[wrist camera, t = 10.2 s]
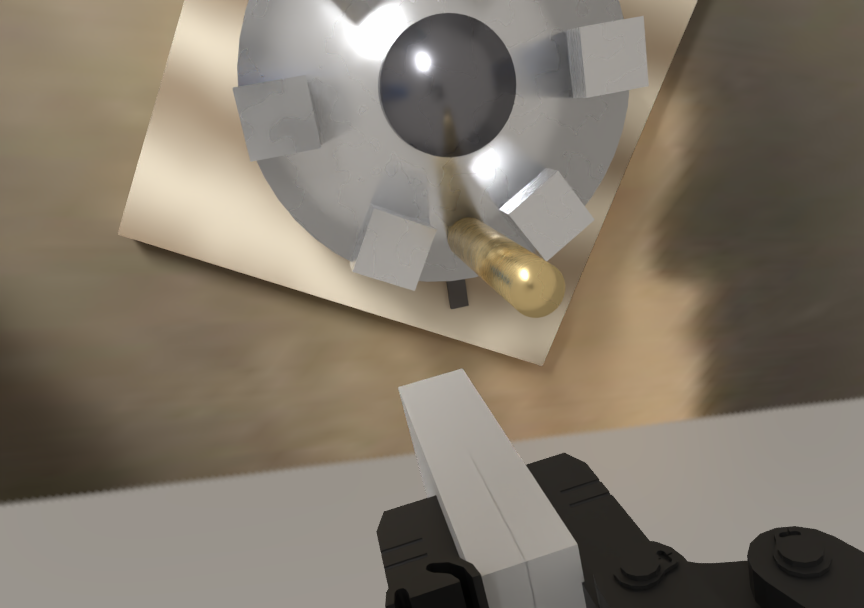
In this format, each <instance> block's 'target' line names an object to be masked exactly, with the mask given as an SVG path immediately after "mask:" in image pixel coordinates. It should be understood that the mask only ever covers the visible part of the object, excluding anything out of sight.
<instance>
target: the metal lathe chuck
mask: <svg viewBox="0 0 864 608" xmlns="http://www.w3.org/2000/svg"><path fill="white" fill-rule="evenodd" d="M237 74H238V87H233V88H232V89H233V93H234V97H235V101H236V105H237V109H238V113H239V118H240V122H241V126H242V130H243V134H244V138H245V142H246V146H247V150H248V154H249V158H250V162H252V161H257V163H258V165H259V167H260V169H261V172H262V174H263V176H264V178H265V179H266V181H267V182H268V184H269V186H270V187H271V189H272V190H273V192H274V194H275V195H276V197H277V198H278V200H279V201H280V202H281V204H282V205H283V206H284V207H285V208H286V210H287V211H288V212H289V213H290V215H291V216H292V217H293V218H294V219H295V220H296V221H297V222H298V223H299V224H300V225H301V226H302V227H303V228H304V229H305V230H306V231H307V232H308V233H309V234H310V235H311V236H312V237H314V238H315V239H316V240H318V241H319V242H320V243H322V244H323V245H325V246H326V247H327V248H329V249H330V250H331V251H333V252H334V253H336V254H338V255H340V256H341V257H343V258H345V259H347V260H349V261H350V267H351V269H352V272H354V273H358V274H361V275H364V276H367V277H371V278H374V279H377V280H380V281H384V282H387V283H390V284H393V285H397V286H400V287H403V288H406V289H410V290H413V291H415V289H416V286H417V283H418V281H425V282H437V281H455V280H461V279H468V278H474V277H478V276H480V277H481V278H482V279H483V280H484V281H485V282H486V283H487V284H488V285H490V286H491V287H492V288H493V289H494V290H495V291H496V292H497V293H498V294H500V295H501V296H502V297H503V298H504V299H505V300H506V301H507V302H508V303H510V304H511V305H512V306H513V307H514V308H515V309H516V310H517V311H518V312H520V313H521V314H523V315H524V316H527V317H531V318H540V317H544V316H547V315H549V314H551V313H552V312H553V311H555V310H556V309H557V308H558V306H559V305H560V304H561V302H562V300H563V298H564V295H565V280H564V277H563V275H562V273H561V272H560V271H559V270H558V269H557V268H556V267H555V266H553V265H552V264H550V263H548V262H547V261H548V260H549V259H550V258H551V257H553V256H554V255H555V254H556V253H557V252H558V251H559V250H561V249H562V248H563V247H564V246H565V245H566V244H567V243H569V242H570V241H571V240H572V239H573V238H574V237H575V236H577V235H578V234H579V233H580V232H581V231H582V230H584V229H585V228H586V227H587V226H588V225H589V224H590V223H592V222H593V221H594V220H595V219H594V218H593V217H592V215H591V214H590V213H589V211H588V210H587V209H586V207H585V205H586V204H587V203H588V201H589V200H590V199H591V197H592V196H593V194H594V193H595V191H596V189H597V188H598V186H599V185H600V183H601V181H602V180H603V178H604V176H605V174H606V172H607V170H608V168H609V166H610V163H611V161H612V159H613V157H614V155H615V152H616V149H617V146H618V143H619V140H620V137H621V134H622V131H623V127H624V122H625V117H626V112H627V108H628V99H629V90H631V89H636V88H642V87H647V86H649V83H648V69H647V55H646V42H645V28H644V16H640V17H634V18H628V19H624V18H623V14H622V10H621V6H620V2H619V0H249V1H248V4H247V7H246V10H245V15H244V19H243V24H242V29H241V33H240V38H239V51H238V63H237Z"/></svg>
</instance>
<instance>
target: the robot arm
mask: <svg viewBox="0 0 864 608" xmlns="http://www.w3.org/2000/svg"><path fill="white" fill-rule="evenodd" d="M398 389H399V393H400V397H401V400H402V404H403V408H404V412H405V416H406V419H407V423H408V427H409V431H410V435H411V438H412V442H413V446H414V450H415V453H416V457H417V461H418V465H419V469H420V472H421V476H422V480H423V484H424V487H425V491H426V494H427V496H428V498H426V499H423V500H420V501H416V502H413V503H410V504H407V505H404V506H400V507H397V508H394V509H391V510H388V511H384V513H383V516H382V518H381V521H380V524H379V526H378V529H377V536H378V541H379V545H380V550H381V554H382V560H383V564H384V568H385V574H386V578H387V583H388V588H389V589H388V590H387V592H386V604H385V607H386V608H864V552H862V551H860V550H858V549H856V548H854V547H853V546H851V545H849V544H847V543H845V542H844V541H842V540H840V539H838V538H836V537H834V536H832V535H829V534H826V533H823V532H821V531H818V530H816V529H810V528H803V527H796V526H793V527H781V528H774V529H772V530H770V531H767V532H764V533H762V534H760V535H759V536H758V537H756V538H755V539H754V540H753V541H752V542H751V543H750V547H749V550H748V555H747V558H748V561H738V562H725V563H693V562H688V561H687V560H686V559H685V558H684V557H683V556H682V555H680V554H679V553H678V552H676V551H675V550H674V549H673V548H671V547H669V546H666V545H663V544H660V543H658V542H654V541H649V540H648V538H647V537H646V536H645V535H644V534H643V532H642V531H641V530H640V528H639V527H638V526H637V525H636V524H635V522H633V520H632V519H631V518H630V516H629V515H628V514H627V513H626V511H625V510H624V509H623V508H622V507H621V506H620V504H619V503H618V502H617V500H616V499H615V498H614V497H613V496H612V495H610V493H609V491H608V489H607V488H606V487H605V486H604V485H603V483H602V482H600V481H599V479H598V477H597V476H596V475H595V474H594V472H593V471H592V470H591V469H590V468H589V466H588V465H587V464H586V463H585V462H583V461H581V460H578V459H576V458H574V457H572V456H570V455H568V454H566V453H562V454H559V455H556V456H553V457H549V458H546V459H543V460H540V461H537V462H533V463H530V464H527V465H525V463H524V462H523V460H522V459H521V457H520V455H519V454H518V452H517V451H516V449H515V448H514V446H513V445H512V443H511V442H510V440H509V439H508V437H507V436H506V434H505V433H504V431H503V430H502V428H501V426H500V425H499V423H498V422H497V420H496V419H495V417H494V416H493V414H492V413H491V411H490V410H489V408H488V407H487V405H486V404H485V402H484V401H483V399H482V397H481V396H480V394H479V393H478V391H477V390H476V388H475V387H474V385H473V384H472V382H471V381H470V379H469V378H468V376H467V375H466V373H465V371H464V370H463V368H462V369H459V370H455V371H452V372H448V373H445V374H442V375H438V376H435V377H431V378H428V379H425V380H421V381H418V382H414V383H411V384H408V385H404V386H401V387H398Z"/></svg>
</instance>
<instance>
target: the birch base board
mask: <svg viewBox="0 0 864 608" xmlns="http://www.w3.org/2000/svg"><path fill="white" fill-rule="evenodd" d="M248 1H249V0H185V1H184V4H183V8H182V11H181V15H180V18H179V22H178V25H177V29H176V32H175V35H174V39H173V42H172V46H171V49H170V53H169V56H168V60H167V63H166V67H165V70H164V74H163V77H162V81H161V84H160V88H159V91H158V95H157V98H156V102H155V105H154V109H153V112H152V116H151V119H150V123H149V126H148V130H147V133H146V137H145V140H144V144H143V147H142V151H141V154H140V158H139V161H138V165H137V168H136V172H135V175H134V179H133V182H132V186H131V189H130V193H129V196H128V200H127V203H126V207H125V210H124V214H123V217H122V221H121V224H120V228H119V231H118V235H121V236H125V237H128V238H131V239H134V240H137V241H141V242H144V243H147V244H150V245H154V246H157V247H160V248H163V249H166V250H170V251H173V252H176V253H179V254H183V255H186V256H189V257H192V258H195V259H199V260H202V261H205V262H208V263H212V264H215V265H218V266H221V267H224V268H228V269H231V270H234V271H237V272H241V273H244V274H247V275H250V276H253V277H257V278H260V279H263V280H266V281H270V282H273V283H276V284H279V285H282V286H286V287H289V288H292V289H295V290H299V291H302V292H305V293H308V294H311V295H315V296H318V297H321V298H324V299H328V300H331V301H334V302H337V303H340V304H344V305H347V306H350V307H353V308H357V309H360V310H363V311H366V312H369V313H373V314H376V315H379V316H382V317H386V318H389V319H392V320H395V321H398V322H402V323H405V324H408V325H411V326H415V327H418V328H421V329H424V330H427V331H431V332H434V333H437V334H440V335H443V336H447V337H450V338H453V339H456V340H460V341H463V342H466V343H469V344H472V345H476V346H479V347H482V348H485V349H489V350H492V351H495V352H498V353H501V354H505V355H508V356H511V357H514V358H518V359H521V360H524V361H527V362H530V363H534V364H537V365H540V366H543V364H544V361H545V359H546V357H547V354H548V352H549V350H550V347H551V345H552V342H553V340H554V338H555V335H556V333H557V331H558V328H559V326H560V324H561V321H562V319H563V317H564V314H565V312H566V309H567V307H568V305H569V302H570V300H571V298H572V295H573V293H574V291H575V288H576V286H577V284H578V281H579V279H580V276H581V274H582V272H583V269H584V267H585V265H586V262H587V260H588V258H589V255H590V253H591V250H592V248H593V246H594V243H595V241H596V239H597V236H598V234H599V232H600V229H601V227H602V225H603V222H604V220H605V217H606V215H607V213H608V210H609V208H610V206H611V203H612V201H613V199H614V196H615V194H616V192H617V189H618V187H619V184H620V182H621V180H622V177H623V175H624V173H625V170H626V168H627V166H628V163H629V161H630V158H631V156H632V154H633V151H634V149H635V147H636V144H637V142H638V140H639V137H640V135H641V133H642V130H643V128H644V125H645V123H646V121H647V118H648V116H649V114H650V111H651V109H652V107H653V104H654V102H655V100H656V97H657V95H658V92H659V90H660V88H661V85H662V83H663V81H664V78H665V76H666V74H667V71H668V69H669V66H670V64H671V62H672V59H673V57H674V55H675V52H676V50H677V48H678V45H679V43H680V41H681V38H682V36H683V33H684V31H685V29H686V26H687V24H688V22H689V19H690V17H691V15H692V12H693V10H694V8H695V5H696V3H697V0H619V2H620V6H621V10H622V14H623V18H624V19H628V18H634V17H640V16H644V28H645V42H646V55H647V69H648V83H649V86H647V87H642V88H636V89H631V90H629V99H628V108H627V112H626V117H625V122H624V127H623V131H622V134H621V137H620V140H619V143H618V146H617V149H616V152H615V155H614V157H613V159H612V161H611V163H610V166H609V168H608V170H607V172H606V174H605V176H604V178H603V180H602V181H601V183H600V185H599V186H598V188H597V189H596V191H595V193H594V194H593V196H592V197H591V199H590V200H589V201H588V203H587V204H586V205H585V207H586V209H587V210H588V211H589V213H590V214H591V215H592V217H593V218H594V219H595V220H594V221H593V222H592V223H590V224H589V225H588V226H587V227H586V228H585V229H584V230H582V231H581V232H580V233H579V234H578V235H577V236H575V237H574V238H573V239H572V240H571V241H570V242H569V243H567V244H566V245H565V246H564V247H563V248H562V249H561V250H559V251H558V252H557V253H556V254H555V255H554V256H553V257H551V258H550V259H549V260H548V261H547V262H548V263H550V264H552V265H553V266H555V267H556V268H557V269H558V270H559V271H560V272H561V273H562V275H563V277H564V280H565V295H564V298H563V300H562V302H561V304H560V305H559V306H558V308H557V309H556V310H555V311H553V312H552V313H551V314H549V315H547V316H544V317H540V318H531V317H527V316H524V315H523V314H521V313H520V312H518V311H517V310H516V309H515V308H514V307H513V306H512V305H511V304H510V303H508V302H507V301H506V300H505V299H504V298H503V297H502V296H501V295H500V294H498V293H497V292H496V291H495V290H494V289H493V288H492V287H491V286H490V285H488V284H487V283H486V282H485V281H484V280H483V279H482V278H481V277H480V276H478V277H474V278H468V279H461V280H455V281H437V282H425V281H418V283H417V286H416V289H415V291H413V290H410V289H406V288H403V287H400V286H397V285H393V284H390V283H387V282H384V281H380V280H377V279H374V278H371V277H367V276H364V275H361V274H358V273H354V272H352V269H351V267H350V261H349V260H347V259H345V258H343V257H341V256H340V255H338V254H336V253H334V252H333V251H331V250H330V249H329V248H327V247H326V246H325V245H323V244H322V243H320V242H319V241H318V240H316V239H315V238H314V237H312V236H311V235H310V234H309V233H308V232H307V231H306V230H305V229H304V228H303V227H302V226H301V225H300V224H299V223H298V222H297V221H296V220H295V219H294V218H293V217H292V216H291V215H290V213H289V212H288V211H287V210H286V208H285V207H284V206H283V205H282V204H281V202H280V201H279V200H278V198H277V197H276V195H275V194H274V192H273V190H272V189H271V187H270V186H269V184H268V182H267V181H266V179H265V178H264V176H263V174H262V172H261V169H260V167H259V165H258V163H257V161H252V162H250V158H249V154H248V150H247V146H246V142H245V138H244V134H243V130H242V126H241V122H240V118H239V113H238V109H237V105H236V101H235V97H234V93H233V89H232V88H233V87H238V74H237V63H238V51H239V38H240V33H241V29H242V24H243V19H244V15H245V10H246V7H247V4H248Z"/></svg>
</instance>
